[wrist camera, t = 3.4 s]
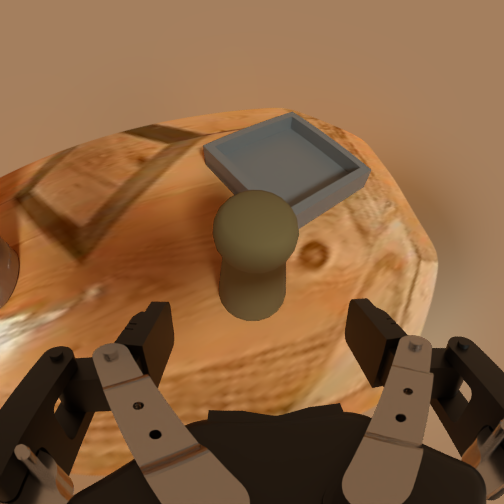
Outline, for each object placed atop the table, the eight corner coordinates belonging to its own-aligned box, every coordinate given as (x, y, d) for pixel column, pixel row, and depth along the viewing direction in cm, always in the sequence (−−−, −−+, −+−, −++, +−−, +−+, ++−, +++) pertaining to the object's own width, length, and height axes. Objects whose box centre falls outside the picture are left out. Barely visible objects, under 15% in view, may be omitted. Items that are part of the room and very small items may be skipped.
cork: (252, 247, 27) (255, 161, 17) (299, 288, 25) (331, 214, 15) (204, 288, 25) (181, 212, 15) (252, 335, 23) (258, 284, 13)
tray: (278, 242, 27) (281, 224, 25) (205, 164, 33) (203, 145, 30) (363, 186, 32) (371, 169, 29) (290, 128, 37) (292, 111, 35)
